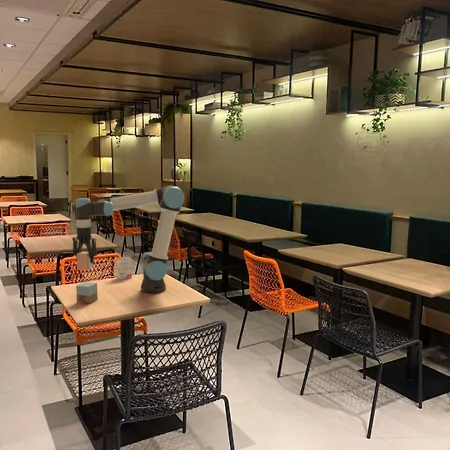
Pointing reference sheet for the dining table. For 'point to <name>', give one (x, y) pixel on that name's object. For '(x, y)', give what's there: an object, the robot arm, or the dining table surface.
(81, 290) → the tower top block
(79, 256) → the terracotta block
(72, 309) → the dining table surface
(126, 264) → the ink cartridge box
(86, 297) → the tower base block
